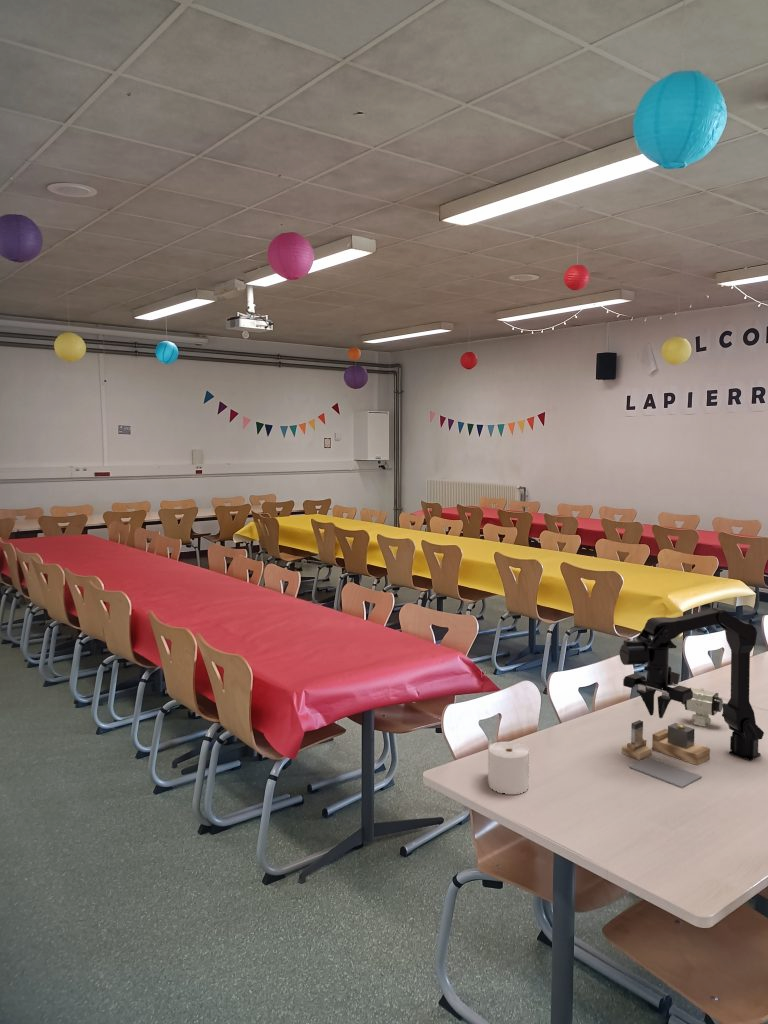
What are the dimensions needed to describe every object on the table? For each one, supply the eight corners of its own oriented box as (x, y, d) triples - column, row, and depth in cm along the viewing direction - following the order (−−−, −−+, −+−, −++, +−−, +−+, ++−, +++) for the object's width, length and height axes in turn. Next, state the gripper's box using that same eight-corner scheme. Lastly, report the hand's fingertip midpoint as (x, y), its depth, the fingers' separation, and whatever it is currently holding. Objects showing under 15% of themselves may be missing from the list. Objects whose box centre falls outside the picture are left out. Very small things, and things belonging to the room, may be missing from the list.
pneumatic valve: (684, 718, 239) (685, 683, 238) (722, 726, 232) (723, 690, 231) (679, 723, 235) (680, 687, 234) (717, 732, 228) (718, 695, 227)
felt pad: (701, 777, 196) (701, 776, 196) (682, 788, 190) (682, 786, 190) (648, 758, 208) (648, 756, 208) (628, 767, 202) (628, 766, 202)
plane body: (709, 758, 208) (710, 743, 208) (696, 765, 204) (697, 749, 203) (665, 743, 219) (665, 728, 219) (652, 749, 215) (652, 734, 214)
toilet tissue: (521, 798, 184) (521, 761, 184) (477, 788, 190) (477, 751, 190) (534, 782, 194) (534, 746, 193) (492, 772, 200) (492, 737, 199)
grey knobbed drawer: (694, 745, 210) (694, 726, 209) (686, 748, 207) (687, 730, 207) (674, 739, 215) (675, 720, 214) (667, 742, 212) (668, 723, 212)
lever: (642, 746, 212) (643, 721, 211) (634, 749, 210) (635, 724, 209) (638, 744, 213) (639, 720, 212) (630, 748, 211) (631, 723, 210)
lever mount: (652, 754, 211) (652, 742, 211) (639, 760, 207) (639, 748, 207) (634, 747, 216) (634, 735, 216) (620, 753, 212) (621, 741, 212)
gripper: (704, 665, 202) (702, 719, 203) (644, 651, 217) (643, 701, 218) (682, 673, 195) (681, 728, 196) (622, 657, 210) (621, 709, 211)
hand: (656, 716), depth 206 cm, fingers open, 3 cm apart
